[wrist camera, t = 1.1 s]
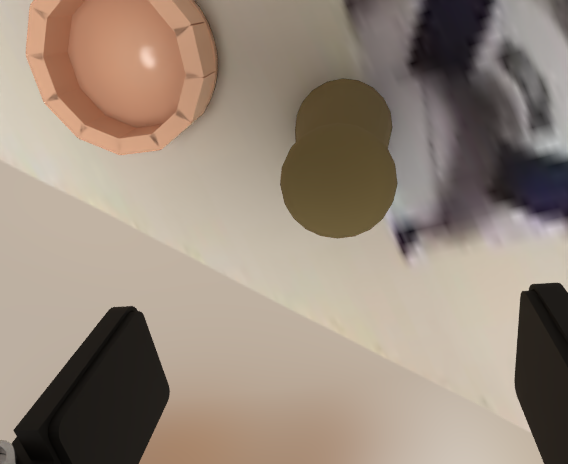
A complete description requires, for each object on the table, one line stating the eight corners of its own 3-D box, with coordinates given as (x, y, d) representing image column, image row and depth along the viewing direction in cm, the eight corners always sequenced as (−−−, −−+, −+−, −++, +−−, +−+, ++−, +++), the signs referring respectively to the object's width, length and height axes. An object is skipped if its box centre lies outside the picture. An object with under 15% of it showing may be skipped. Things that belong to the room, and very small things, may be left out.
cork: (407, 94, 28) (434, 150, 18) (372, 185, 30) (380, 274, 21) (310, 66, 28) (285, 106, 18) (284, 159, 30) (251, 236, 21)
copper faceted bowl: (37, -17, 28) (-3, -19, 24) (195, -51, 26) (173, -57, 22) (94, 145, 32) (66, 161, 29) (233, 127, 30) (218, 142, 27)
